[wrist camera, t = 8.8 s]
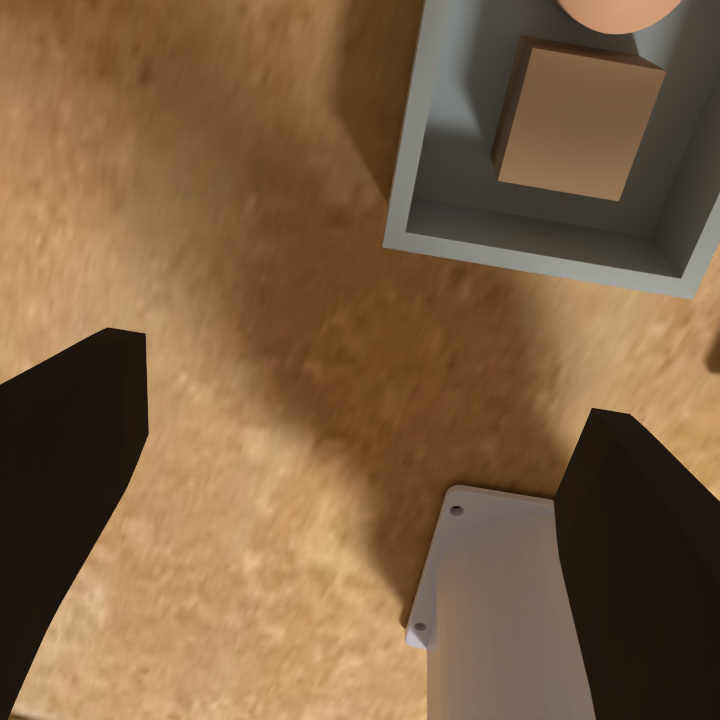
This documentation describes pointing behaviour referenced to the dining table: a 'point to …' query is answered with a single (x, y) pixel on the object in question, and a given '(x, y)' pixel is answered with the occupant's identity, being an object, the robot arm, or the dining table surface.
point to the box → (549, 207)
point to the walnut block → (573, 117)
